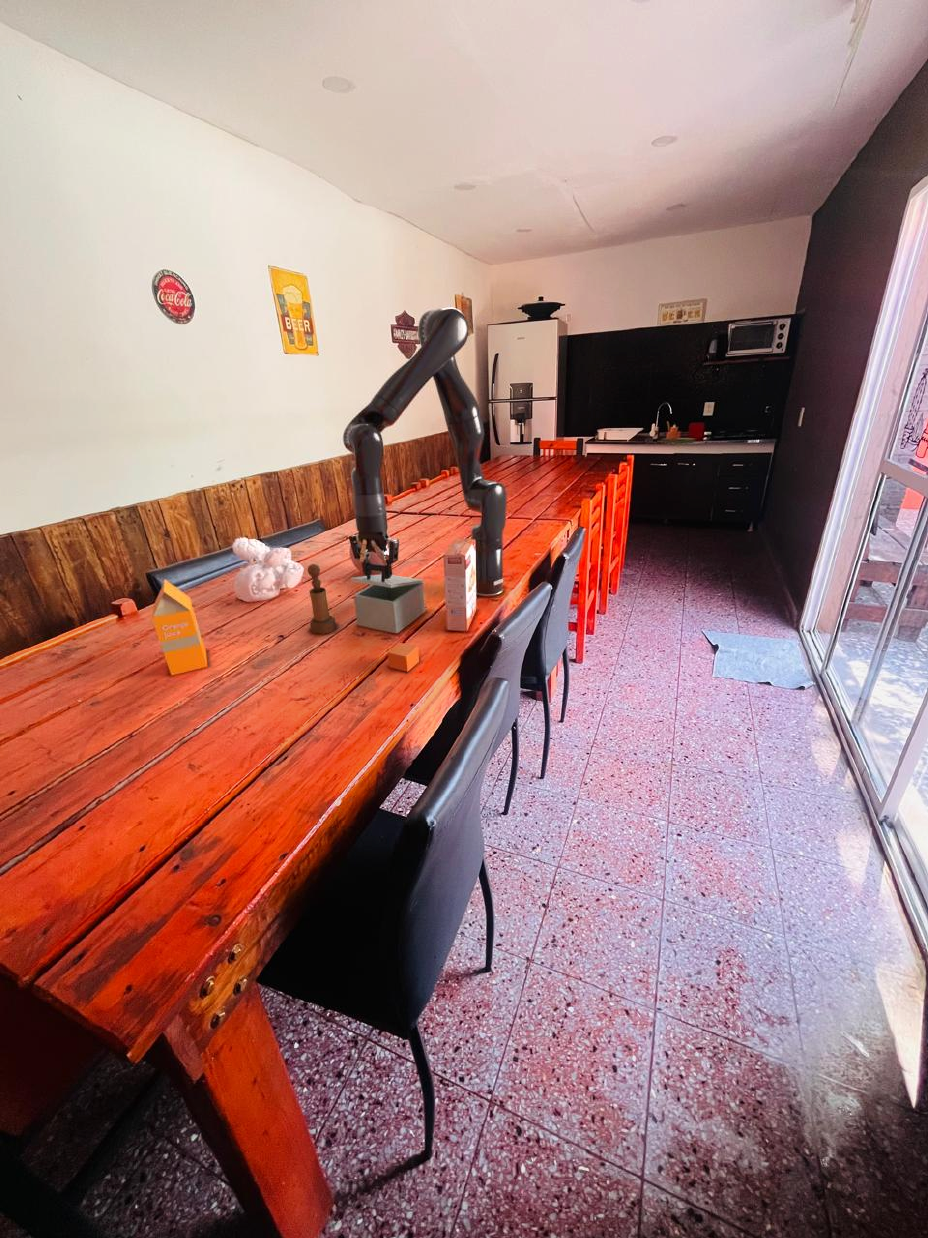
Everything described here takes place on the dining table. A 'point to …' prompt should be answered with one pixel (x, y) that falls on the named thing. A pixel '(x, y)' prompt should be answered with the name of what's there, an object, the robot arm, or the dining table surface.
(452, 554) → the cracker box
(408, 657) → the orange block
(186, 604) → the orange juice
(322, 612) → the mortar and pestle
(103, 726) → the dining table surface
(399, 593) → the grey storage box
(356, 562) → the balloon
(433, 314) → the robot arm
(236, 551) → the white lumpy blob
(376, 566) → the box lid
